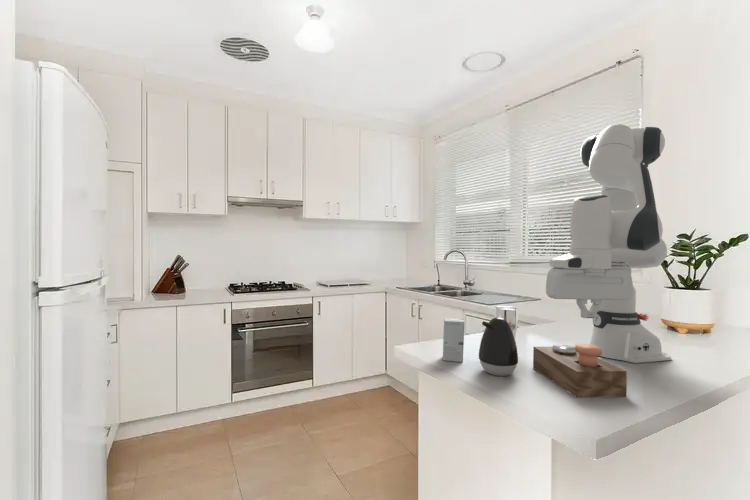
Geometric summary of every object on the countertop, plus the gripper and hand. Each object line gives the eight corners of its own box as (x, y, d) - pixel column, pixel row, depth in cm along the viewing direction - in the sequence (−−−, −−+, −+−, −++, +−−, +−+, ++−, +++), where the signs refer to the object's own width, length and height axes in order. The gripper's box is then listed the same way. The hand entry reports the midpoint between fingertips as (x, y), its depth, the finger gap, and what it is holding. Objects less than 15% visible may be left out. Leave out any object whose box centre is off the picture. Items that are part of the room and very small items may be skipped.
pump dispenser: (470, 368, 101) (471, 315, 101) (500, 364, 105) (500, 312, 104) (494, 381, 91) (495, 322, 91) (526, 376, 95) (527, 319, 95)
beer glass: (518, 359, 110) (519, 310, 110) (495, 357, 112) (496, 309, 111) (514, 352, 117) (515, 306, 117) (492, 350, 118) (493, 305, 118)
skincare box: (442, 361, 107) (443, 320, 107) (442, 356, 112) (443, 317, 112) (464, 362, 107) (464, 321, 106) (462, 357, 111) (463, 318, 111)
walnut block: (573, 367, 103) (574, 346, 103) (626, 396, 83) (626, 371, 83) (533, 367, 102) (533, 346, 102) (576, 397, 83) (577, 371, 82)
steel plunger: (567, 362, 101) (568, 344, 101) (580, 369, 95) (580, 350, 95) (548, 362, 100) (548, 344, 100) (559, 369, 95) (560, 350, 95)
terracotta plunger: (591, 363, 91) (591, 343, 91) (607, 371, 85) (607, 350, 85) (570, 363, 90) (570, 343, 90) (584, 371, 85) (584, 350, 85)
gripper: (621, 261, 91) (619, 315, 91) (543, 259, 90) (541, 315, 90) (641, 262, 85) (639, 320, 85) (557, 260, 84) (555, 320, 84)
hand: (588, 317), depth 87 cm, fingers closed
